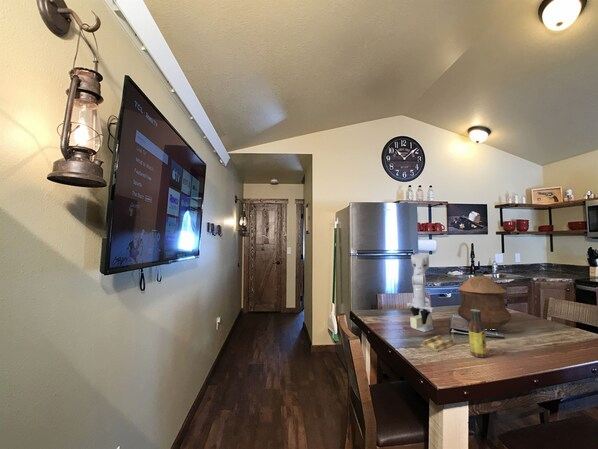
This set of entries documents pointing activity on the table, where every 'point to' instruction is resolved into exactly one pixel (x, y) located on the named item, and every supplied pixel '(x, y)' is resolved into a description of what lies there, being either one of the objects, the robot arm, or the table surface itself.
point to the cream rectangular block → (419, 321)
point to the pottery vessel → (484, 302)
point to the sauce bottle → (477, 335)
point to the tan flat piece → (437, 343)
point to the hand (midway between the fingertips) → (420, 322)
